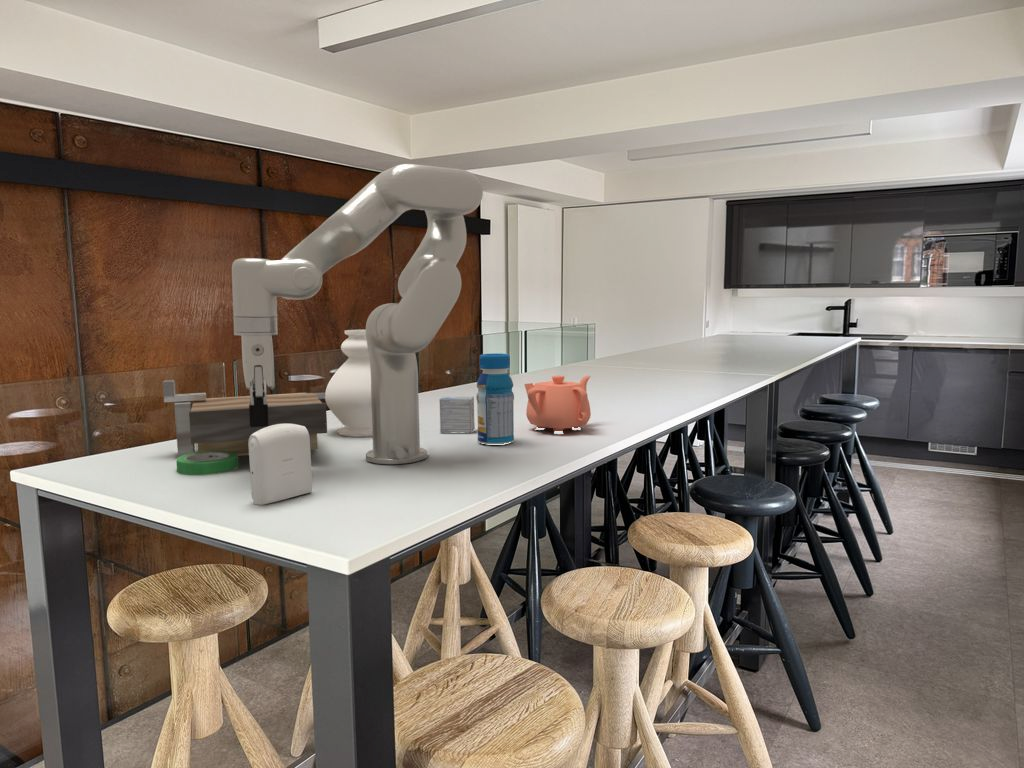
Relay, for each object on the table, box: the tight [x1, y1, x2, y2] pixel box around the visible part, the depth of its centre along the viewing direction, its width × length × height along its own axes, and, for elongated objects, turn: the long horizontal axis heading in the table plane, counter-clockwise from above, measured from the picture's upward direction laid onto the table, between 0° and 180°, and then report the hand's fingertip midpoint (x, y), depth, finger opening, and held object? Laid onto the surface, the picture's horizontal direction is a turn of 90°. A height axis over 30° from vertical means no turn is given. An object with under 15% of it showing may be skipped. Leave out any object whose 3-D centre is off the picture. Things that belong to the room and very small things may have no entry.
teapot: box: [524, 375, 591, 431], centre depth 176 cm, size 16×17×14 cm
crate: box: [174, 392, 319, 458], centre depth 161 cm, size 20×28×11 cm
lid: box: [189, 392, 328, 445], centre depth 149 cm, size 23×25×6 cm
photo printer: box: [248, 424, 313, 506], centre depth 119 cm, size 10×4×12 cm, turn 140°
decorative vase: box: [324, 329, 373, 438], centre depth 175 cm, size 18×18×25 cm
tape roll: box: [176, 451, 239, 476], centre depth 141 cm, size 11×11×3 cm
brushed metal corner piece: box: [162, 379, 207, 403], centre depth 152 cm, size 3×8×4 cm, turn 112°
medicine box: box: [439, 395, 476, 432], centre depth 175 cm, size 8×4×9 cm, turn 84°
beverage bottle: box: [475, 352, 515, 444], centre depth 161 cm, size 8×8×20 cm
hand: (259, 425), depth 133 cm, fingers closed
